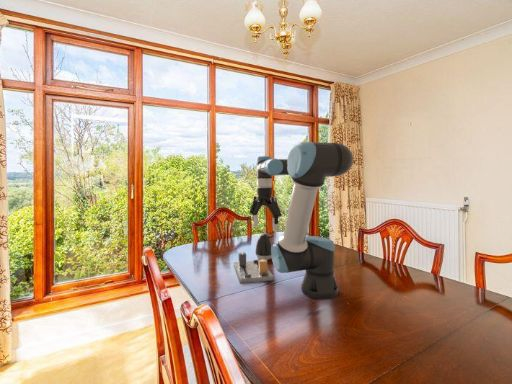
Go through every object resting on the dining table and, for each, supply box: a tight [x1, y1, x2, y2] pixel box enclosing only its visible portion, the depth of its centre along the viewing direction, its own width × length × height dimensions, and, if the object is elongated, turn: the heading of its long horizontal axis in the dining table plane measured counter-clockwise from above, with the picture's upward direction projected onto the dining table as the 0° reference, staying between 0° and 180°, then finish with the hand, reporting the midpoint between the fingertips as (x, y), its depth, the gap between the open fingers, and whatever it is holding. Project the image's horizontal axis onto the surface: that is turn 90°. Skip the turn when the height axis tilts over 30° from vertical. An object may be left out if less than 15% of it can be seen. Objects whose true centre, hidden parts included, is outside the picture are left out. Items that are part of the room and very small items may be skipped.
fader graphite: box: [238, 251, 247, 266], centre depth 149 cm, size 3×4×6 cm
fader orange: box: [258, 259, 268, 274], centre depth 137 cm, size 3×4×6 cm
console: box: [233, 259, 275, 284], centre depth 143 cm, size 24×16×3 cm
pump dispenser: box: [255, 233, 274, 261], centre depth 164 cm, size 10×10×15 cm
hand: (265, 229), depth 144 cm, fingers open, 13 cm apart
